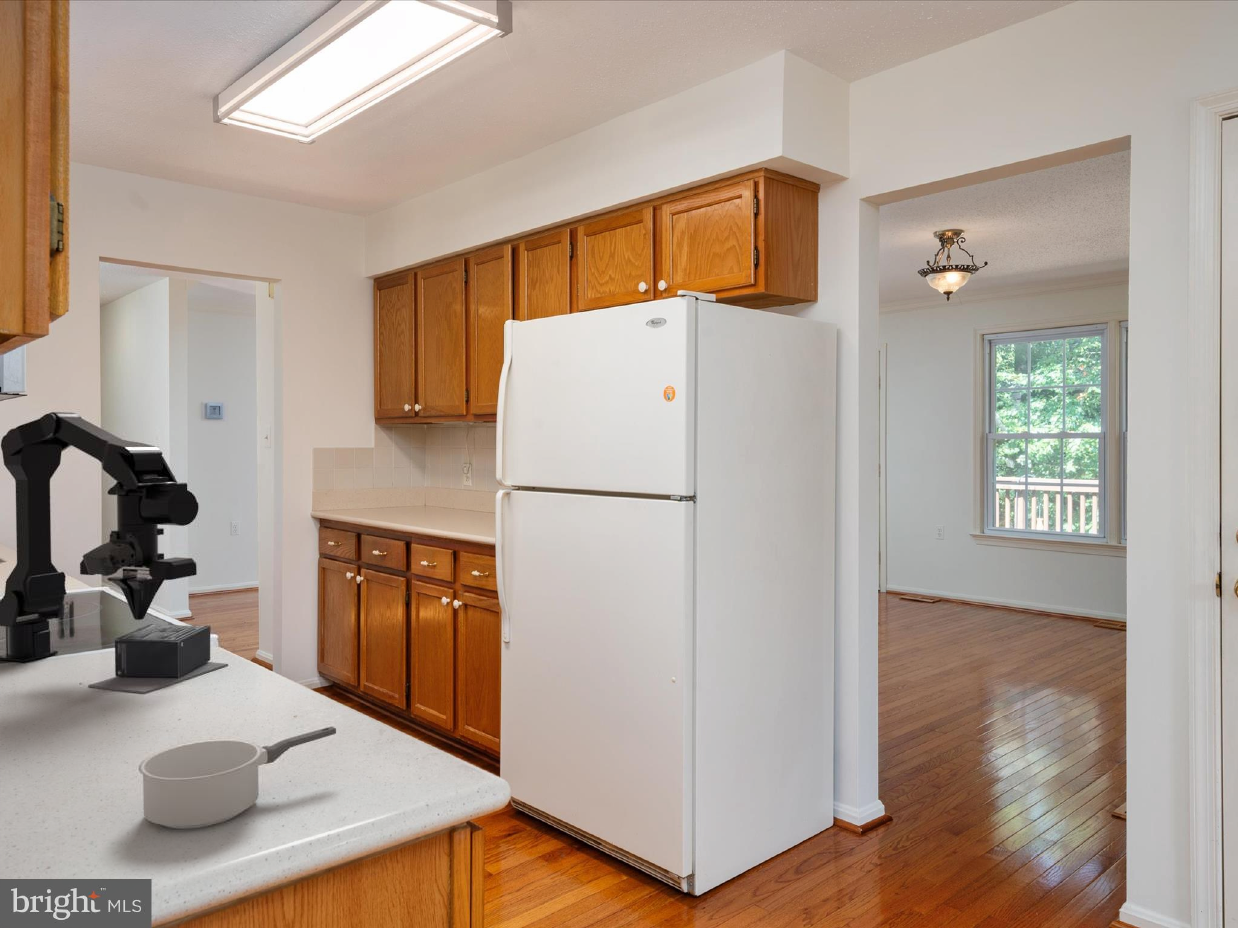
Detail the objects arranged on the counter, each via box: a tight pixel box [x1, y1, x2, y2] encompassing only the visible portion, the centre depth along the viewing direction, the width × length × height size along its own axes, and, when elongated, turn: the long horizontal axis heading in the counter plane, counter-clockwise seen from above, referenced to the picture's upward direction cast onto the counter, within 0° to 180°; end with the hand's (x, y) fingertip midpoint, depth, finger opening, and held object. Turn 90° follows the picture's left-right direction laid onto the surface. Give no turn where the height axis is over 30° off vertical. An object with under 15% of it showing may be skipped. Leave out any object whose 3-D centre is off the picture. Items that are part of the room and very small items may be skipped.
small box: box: [114, 623, 211, 678], centre depth 143 cm, size 11×6×10 cm
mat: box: [87, 661, 229, 695], centre depth 141 cm, size 11×17×1 cm, turn 162°
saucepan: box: [138, 726, 337, 829], centre depth 93 cm, size 12×20×6 cm, turn 133°
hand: (139, 619), depth 142 cm, fingers closed
